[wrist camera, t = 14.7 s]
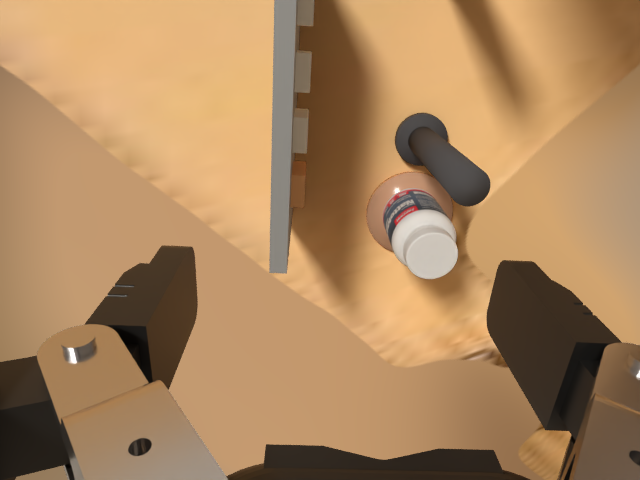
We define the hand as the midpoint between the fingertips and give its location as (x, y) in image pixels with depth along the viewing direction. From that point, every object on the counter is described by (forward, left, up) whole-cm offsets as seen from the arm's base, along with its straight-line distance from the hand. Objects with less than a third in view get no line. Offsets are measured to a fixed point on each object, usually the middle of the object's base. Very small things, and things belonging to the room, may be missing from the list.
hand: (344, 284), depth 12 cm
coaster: (+9, +9, -30) cm, 32 cm away
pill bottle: (+9, +9, -30) cm, 32 cm away
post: (+2, +9, -30) cm, 31 cm away
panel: (-2, -3, -30) cm, 30 cm away
